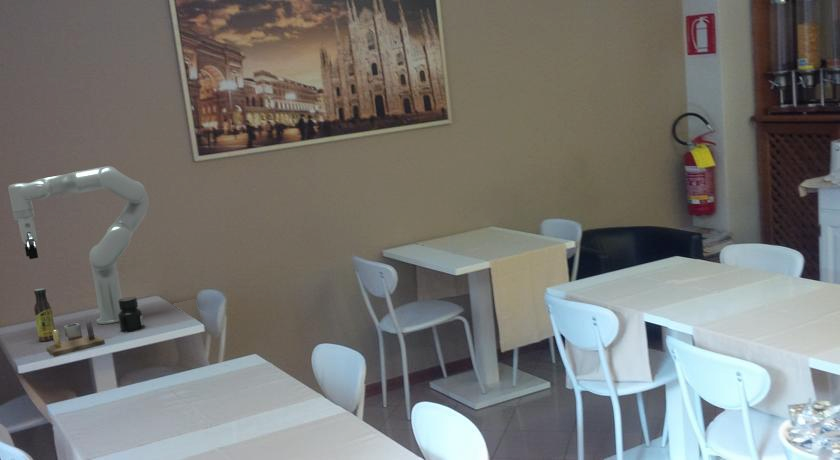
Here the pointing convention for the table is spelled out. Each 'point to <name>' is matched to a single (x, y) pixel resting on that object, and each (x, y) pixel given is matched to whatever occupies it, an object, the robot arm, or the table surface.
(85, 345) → the pin board
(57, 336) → the brass pin
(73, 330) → the sleeve
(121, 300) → the ink bottle
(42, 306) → the sauce bottle
